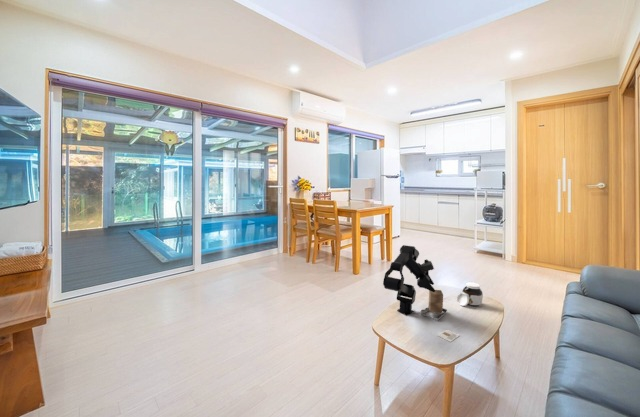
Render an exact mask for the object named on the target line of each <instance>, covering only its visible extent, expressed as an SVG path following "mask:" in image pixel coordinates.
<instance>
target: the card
mask: <svg viewBox="0 0 640 417" xmlns="http://www.w3.org/2000/svg"><path fill="white" fill-rule="evenodd" d="M437 337H439V338H441V339H444V340H445V341H448V342H450V343H452V342H453V341H455V340H456V339H458V337H460V334H457V333H455V332H453V331H451V330H449V329H446V330H444V331H442V332H441V333H439V334H438V335H437Z"/></svg>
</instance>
